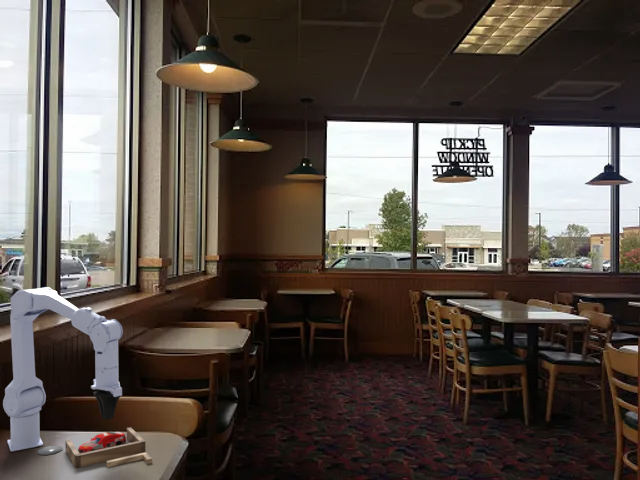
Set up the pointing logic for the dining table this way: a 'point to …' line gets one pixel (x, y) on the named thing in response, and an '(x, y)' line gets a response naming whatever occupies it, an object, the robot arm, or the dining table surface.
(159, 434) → the dining table surface
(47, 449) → the slate coaster
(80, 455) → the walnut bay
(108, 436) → the race car
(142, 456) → the oak crook stick
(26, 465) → the dining table surface
